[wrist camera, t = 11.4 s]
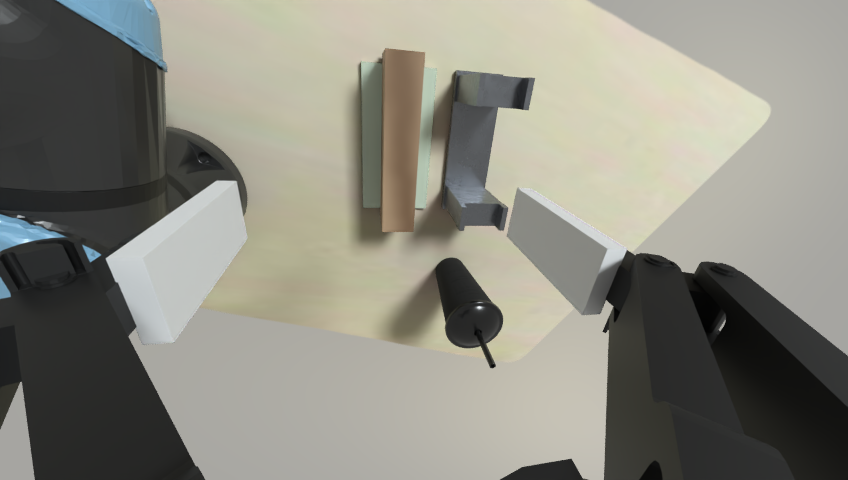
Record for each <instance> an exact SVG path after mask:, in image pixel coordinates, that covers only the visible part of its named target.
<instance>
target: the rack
mask: <svg viewBox="0 0 848 480" xmlns="http://www.w3.org/2000/svg"><path fill="white" fill-rule="evenodd" d="M534 81H535V78H518V77H508V76H503V75H500V74H490V73H479V72H469V71H458V70H457V71H456V72H455V81H454V91H453V100H452V110H451V119H450V129H449V139H448V148H447V158H446V167H445V177H444V186H443V196H442V206H441V207H442V209H447V210H448V212H449V214H450V215H451V217H452V218H453V220H454V221H455V223H456V226H457V228H458V229H459V231H464V227H465V226H496V227H497V229H498V230H504V227H505V222H506V217H507V212H508V207H507V206H506V205H504V204H502V203H501V202H500V201H499V200H498V199H496V198H495V197H494V196H493V195H492V194H491V193H490V192H489V191H487V190H486V189H485V183H486V177H487V171H488V165H489V159H490V153H491V147H492V141H493V135H494V129H495V123H496V116H497V110H498V107H501V108H515V109H522V110H529V105H530V100H531V95H532V90H533V85H534Z"/></svg>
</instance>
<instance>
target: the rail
mask: <svg viewBox="0 0 848 480" xmlns="http://www.w3.org/2000/svg"><path fill="white" fill-rule="evenodd" d="M424 62H425V52H415V51H406V50H396V49H386V48H385V50H384V52H383V53H382V124H381V198H380V216H381V225H382V232H413V230H414V215H415V200H416V184H417V169H418V154H419V138H420V123H421V108H422V92H423V77H424Z"/></svg>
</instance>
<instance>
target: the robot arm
mask: <svg viewBox="0 0 848 480" xmlns="http://www.w3.org/2000/svg"><path fill="white" fill-rule="evenodd" d="M165 72H167V65H166V63H165V62H164V61H163V53H162V42H161V30H160V20H159V16H158V13H157V11H156V9H155V7H154V5H153V4H152V2H151V1H150V0H0V429H1V426H2V424H3V421H4V419H5V417H6V414H7V412H8V409H9V407H10V405H11V402H12V400H13V398H14V395H15V393H16V390H17V388H18V386H19V383H20V382H22V385H23V393H24V401H25V408H26V416H27V423H28V431H29V438H30V446H31V453H32V460H33V469H34V476H35V480H205V479H204V477H203V475H202V473H201V471H200V470H199V468H198V467H196V466H195V464H194V462H193V460H192V458H191V457H190V455H189V453H188V451H187V449H186V447H185V445H184V443H183V441H182V439H181V437H180V435H179V434H178V432H177V430H176V428H175V426H174V424H173V422H172V420H171V418H170V416H169V414H168V412H167V410H166V409H165V406H164V405H163V403H162V401H161V399H160V397H159V395H158V393H157V391H156V389H155V387H154V385H153V383H152V382H151V380H150V378H149V376H148V374H147V372H146V370H145V368H144V366H143V364H142V362H141V360H140V359H139V356H138V355H137V353H136V351H135V349H134V347H133V345H132V343H131V341H130V339H129V337H128V336H129V335H130V333H131V332H132V331H133V330H134V329H135V328H136V331H137V333H138V335H139V338H140V340H141V343H142V344H143V345H146V344H160V343H174V342H175V340H176V339H177V338H178V336H179V335H180V333H181V332H182V330H183V329H184V327H185V326H186V325H187V323H188V322H189V321H190V319H191V317H192V316H193V315H194V314H195V312H196V311H197V309H198V308H199V306H200V305H201V304H202V302H203V301H204V299H205V298H206V297H207V295H208V294H209V292H210V291H211V289H212V288H213V287H214V285H215V284H216V282H217V281H218V280H219V278H220V277H221V275H222V274H223V272H224V271H225V270H226V268H227V267H228V265H229V264H230V263H231V261H232V260H233V258H234V257H235V255H236V254H237V253H238V251H239V250H240V248H241V247H242V246H243V244H244V243H245V241H246V240H247V239H248V238H247V233H246V228H245V222H244V214H245V211H246V207H247V192H246V187H245V184H244V181H243V178H242V176H241V174H240V172H239V170H238V169H237V167H236V166H235V164H234V163H233V162H232V161H231V159H230V158H229V157H228V156H227V155H226V154H225V153H224V152H223V151H222V150H221V149H219V148H218V147H217V146H215V145H214V144H213V143H211V142H210V141H208V140H206V139H205V138H203V137H201V136H199V135H197V134H194V133H192V132H189V131H186V130H182V129H178V128H173V127H166V107H165ZM507 237H508V238H509V239H510V240H511V241H512V242H513V243H514V244H515V245H516V246H517V247H518V249H519V250H520V251H521V252H522V253H523V254H524V255H525V256H526V257H527V258H528V259H529V260H530V261H531V262H532V263H533V264H534V265H535V266H536V267H537V268H538V269H539V271H540V272H541V273H542V274H543V275H544V276H545V277H546V278H547V279H548V280H549V281H550V282H551V283H552V284H553V285H554V286H555V287H556V288H557V289H558V290H559V292H560V293H561V294H562V295H563V296H564V297H565V298H566V299H567V300H568V301H569V302H570V303H571V304H572V305H573V306H574V307H575V308H576V309H577V310H578V311H579V313H580V314H581V315H592V314H600V313H601V311H602V308H603V306H604V304H605V301H606V300H607V301H608V302H609V303H610V304H611V305H613V306H614V307H613V309H612V311H611V314H610V316H609V318H608V320H607V323H606V325H605V327H604V330H603V332H605V333H606V332H607V330H609V349H608V377H607V378H608V379H607V408H606V439H605V470H604V480H848V356H847V355H846V354H845V353H843V352H842V351H841V350H839V349H838V348H837V347H836V346H834V345H833V344H832V343H831V342H830V341H828V340H827V339H826V338H824V337H823V336H822V335H821V334H819V333H818V332H817V331H816V330H814V329H813V328H812V327H811V326H809V325H808V324H807V323H806V322H804V321H803V320H802V319H801V318H799V317H798V316H797V315H796V314H794V313H793V312H792V311H791V310H789V309H788V308H787V307H786V306H784V305H783V304H782V303H780V302H779V301H778V300H777V299H776V298H774V297H773V296H772V295H771V294H769V293H768V292H767V291H766V290H764V289H763V288H762V287H761V286H759V285H758V284H757V283H756V282H754V281H753V280H752V279H751V278H749V277H748V276H747V275H745V274H744V273H742V272H740V271H738V270H737V269H735V268H734V267H731V266H729V265H726V264H723V263H714V262H701V263H700V264H699V266H698V268H697V270H696V271H695V273H694V274H692V273H686V272H682V271H681V269H680V268H679V266H678V265H677V264H675V263H674V262H672V261H670V260H668V259H666V258H664V257H662V256H659V255H652V254H646V253H640V254H636V255H634V254H632V253H631V252H629V251H628V250H627V248H626V247H624V246H623V245H621V244H619V243H618V242H616V241H615V240H613V239H611V238H610V237H608V236H607V235H605V234H603V233H602V232H600V231H599V230H597V229H595V228H594V227H592V226H591V225H589V224H587V223H586V222H584V221H583V220H581V219H579V218H578V217H576V216H574V215H573V214H571V213H570V212H568V211H566V210H565V209H563V208H562V207H560V206H558V205H557V204H555V203H554V202H552V201H550V200H549V199H547V198H546V197H544V196H542V195H541V194H539V193H538V192H536V191H534V190H533V189H531V188H517V192H516V196H515V201H514V205H513V210H512V214H511V219H510V224H509V228H508V233H507ZM725 319H726V322H725V325H724V327H723V328H722V330H721V331H719V328H720V327H721V325H722V324H723V322H724V320H725ZM500 480H587V479H583V478H582V477H581V475H580V473H579V471H578V470H577V468H576V466H575V464H574V462H573V461H572V459H568V460H561V461H556V462H549V463H544V464H539V465H532V466H526V467H522V468H520V469H518V470H516V471H515V472H513V473H511V474H509V475H507V476H506V477H504V478H502V479H500Z"/></svg>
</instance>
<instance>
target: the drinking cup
mask: <svg viewBox="0 0 848 480" xmlns="http://www.w3.org/2000/svg"><path fill="white" fill-rule="evenodd" d="M436 277H437V282H438V287H439V292H440V297H441V302H442V307H443V312H444V317H445V322H446V325H445V332H446V335H447V338H448V339H449V340H450V342H451V343H453V344H454V345H456V346H458V347H462V348H475V347H479V346H481V348H482V350H483V352H484V355H485V357H486V359H487V362H488V364H489V366H490V368H494V367H495V366H496V365H495V362H494V360H493V358H492V356H491V354H490V352H489V349H488V347H487V345H486V343H488V342H490V341H491V340H492V339H494V338H495V337H496V336H497V334H498V333H499V332H500V330H501V328H502V325H503V315H502V313H501V311H500V309H499V308H498V307H497V306H496V305H495V304H493V303H492V302H491V300H490V299H489V298H488V296H487V295H486V294H485V292H484V291H483V290H482V288H481V287H480V286H479V284H478V283H477V282H476V281H475V279H474V278H473V277H472V275H471V274H470V273H469V271H468V270H467V269H466V267H465V266H464V265H463V263H462V262H461V261H460V260H458V259H456V258H447V259H444V260H442V261H441V262H440V263H439V264H438V266H437V268H436Z"/></svg>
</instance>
